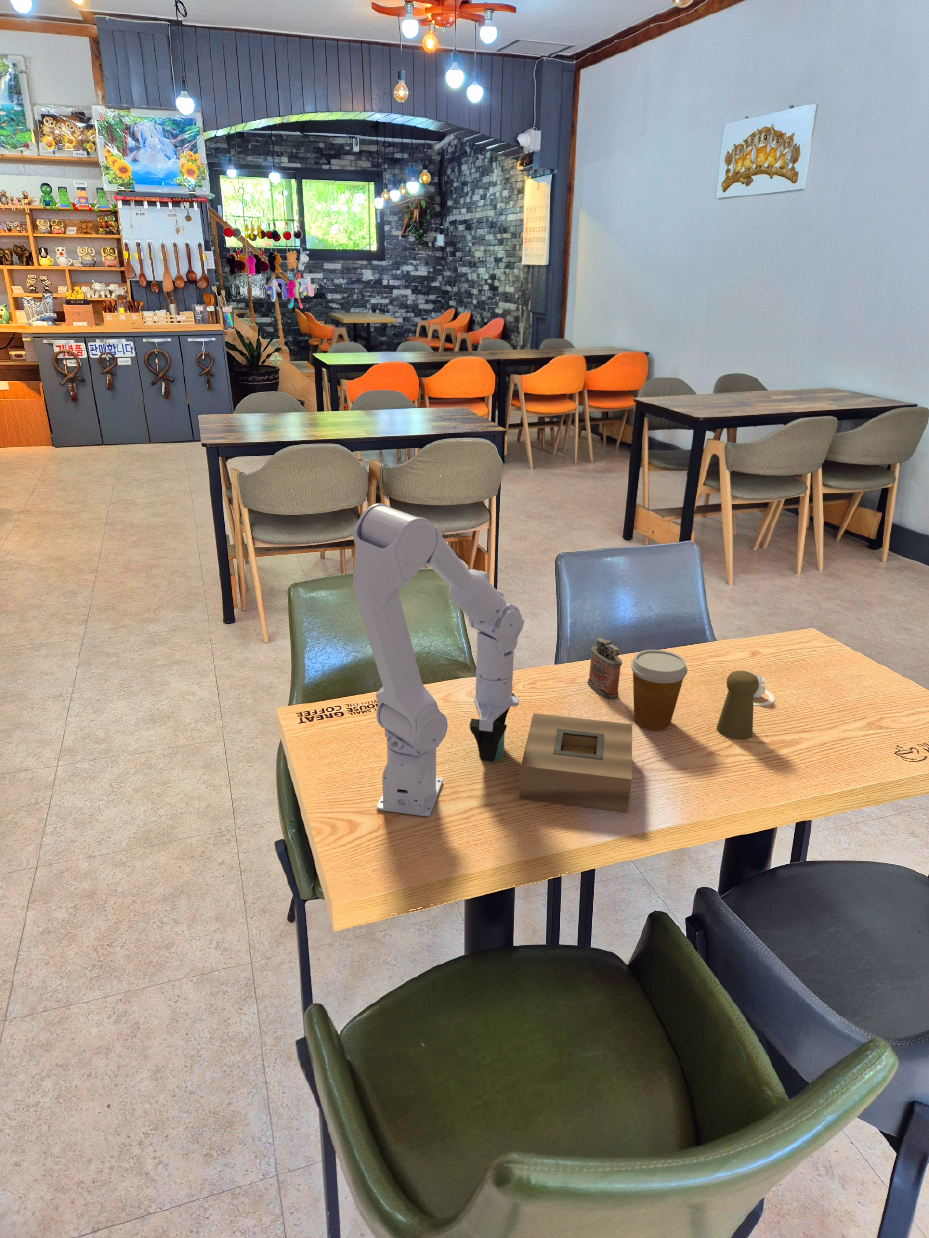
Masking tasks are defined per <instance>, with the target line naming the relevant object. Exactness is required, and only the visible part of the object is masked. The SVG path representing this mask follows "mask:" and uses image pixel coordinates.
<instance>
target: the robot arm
mask: <svg viewBox="0 0 929 1238" xmlns="http://www.w3.org/2000/svg"><path fill="white" fill-rule="evenodd" d="M351 534H352V539H353V542H354V545H355V548H356V549H355V557H354V567H353V568H354V569H353V578H352V586H353V587H352V588H353V591H354V595H355V598H356V601H357V605H358V607H359V612H360V615H361V619H362V621H363V625H364V628H365V631H366V632H365V633H366V635H367V639H368V641H369V645H370V648H371V649H370V650H371V651H372V655H373V659H374V662H375V665H376V667H377V672H378V674H379V675H378V676H379V678H380V681H381V684H382V687H380V689H379V690H378V691H377V692H376V693H375V697H376V703H377V708H376V713H375V715H376V721H377V723H378V725H379V726H380V727H382V728H383V729H384V737H385V738H386V757H387V758H386V759H387V761H386V765H385V767H384V770H383V772H382V794H381V795H380V798H379V800H378V802H377V804H376V809H377V810H378V811H384V812H392V813H398V814H400V813H401V814H407V815H414V816H421V817H430V816H431V813H432V811H433V809H434V806H435V803H436V802H437V801H436V800H437V798H438V795H439V793H440V790H441V787H442V784H443V782H444V779H443V778H442V777H438V776H437V748H438V747H440V744H441V743H442V742H443V741H444V739H445V737H446V735H447V731H448V725H449V724H448V723H449V722H448V719H447V717H446V715H445V714H444V713H443V712H441V710H440V709H439V707H438V704H437V703H438V702H437V701H436V699H435V698H434V697H433V695H432V694H431V693H430V691H428V689H427V688H426V687H425V686H424V684H423V681H422V678H421V673H420V671H419V670H420V669H419V666H418V662H417V658H416V654H415V650H414V647H413V644H412V639H411V636H410V632H409V629H408V625H407V620H406V617H405V614H404V609H403V606H402V603H401V598H400V595H399V590H400V589H402V588H405V587H406V586H407V585H408V583H410V581H411V580H412V579H413V578H414V577H415V575H417V573H418V572H419V571H420V570H421V569H422V567H423V566H424V565H425V564H426V565H427V566H428V567H430V569H432V570H433V572H435V573H436V574H437V575H438V576H439V577H440V578H441V579H443V580H444V582H445V583H447V584H448V586H449V592H448V593H449V596H450V599H451V601H453V603H455V605H457V606H458V608H460V609H461V611H462V612H463V613H464V614H465V615H466V616H467V617H468V622H469V626H470V628H472V629H474V630H476V631H477V633H476V665H475V666H476V667H475V668H476V670H475V693H474V694H475V695H474V696H473V702H474V706H475V708H476V712H477V714H478V717H479V718H471V719H470V722H469V730H470V732H471V733H472V735H473V736H474V739H475V742H476V745H477V749H478V750H477V751H478V755H479V754H480V757H479V758H480V761H482V762H487V761H488V763H495V762H494V760H495V757H496V753H497V749H498V744H499V741H500V739H501V737H502V735H503V734H504V732H505V733H506V731H507V727H508V724H506V720H507V717H508V716H507V715H508V713H509V711H510V708H511V707H518V706H519V704H520V697H518V696H515V693H513V679H514V678H513V677H514V676H513V675H514V657H515V656H514V655H515V654H514V653H515V650H516V649H517V646H518V638H519V636H520V635H521V632H522V630H523V628H524V623H525V619H524V618H523V617H522V614H521V611H520V609H519V608H518V607H517V605H513V604H512V603H509V602H507V601H506V599H505V598H504V597H505V594H504V593H503V592H502V591H501V590H498V589H497V588H495V587H494V585H493V584H492V583H491V581H490V579H491V576H490V575H489V574H488V573H487V572H486V571H484V570H477V569H474V568H472V569H471V568H470V569H468V568H467V567H466V565H465V564H464V563H463V561H461V559H460V558H459V556H458V555H457V554H456V552H455V551H454V550H453V549H452V547H451V546H450V545H449V544H448V543H447V541H446V540H445V538H444V537H443V532H442V531H441V530H439V529H438V528H436V527H435V526H434V524H433V523H432V521H430V520H429V519H427V518H425V517H423V516H415V515H412V514H409V513H406V512H404V511H401V510H398V509H396V508H392V507H391V506H389V505H387V504H384V503H374V504H372V505H370V506H369V507H367V508H366V509H365V510H364V511H363V512H362V513H361V515H360V517H359V518H358V521H357V522H356V524H355V526H354V528H353V530H352V531H351ZM496 723H499V724H496Z"/></svg>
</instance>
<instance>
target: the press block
mask: <svg viewBox="0 0 929 1238" xmlns="http://www.w3.org/2000/svg"><path fill="white" fill-rule="evenodd" d="M531 717H532V718H531V721H530V726H529V729H528V734H527V739H526V743H525V747H524V751H523V756H522V760H521V764H520V778H519V794H518V795H519V797H518V799H519V800H525V801H526V800H527V801H534V802H542V803H548V804H549V803H551V804H558V805H567V806H572V807H580V808H582V807H583V808H588V809H593V810H594V809H595V810H604V811H611V812H617V813H618V812H620V813H626V814H627V813H629V807H630V797H631V787H632V781H633V780H632V779H633V776H632V774H633V724H632V723H626V722H625V723H624V722H617V721H608V720H601V719H600V720H597V719H588V718H581V717H580V718H579V717H574V716H573V717H571V716H563V715H553V714H545V713H537V712H533V713H532V716H531ZM564 745H566V746H575V747H583V748H592V749H595V750H594V754H585V753H577V752H569V751H563V748H564Z"/></svg>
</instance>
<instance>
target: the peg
mask: <svg viewBox="0 0 929 1238" xmlns="http://www.w3.org/2000/svg"><path fill="white" fill-rule="evenodd" d="M496 724H499V723H496ZM505 733H506V731H505V732H504V734H503V735H502V737H501V739H500V741H499V744H498V749H497V753H496V757H495V760H494V762H493V763H495V762H499V761H501V760H502V759H503V758H504V757H505V756H504V754H505V753H504V752H505ZM478 757H479V758H480V754H479V753H478ZM486 762H488V761H486ZM488 763H489V762H488Z"/></svg>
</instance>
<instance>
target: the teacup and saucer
mask: <svg viewBox="0 0 929 1238" xmlns="http://www.w3.org/2000/svg"><path fill="white" fill-rule="evenodd" d="M754 675H755V676H756V677H757V678H758V681H759V688H758V690H757V692H756V693H755V694H754V699H758V698H760V697H762V696H763V695H764V694H765V695H767V697H768V700H767V701H765V702H760V703H757V702H753V707H754V706H756V707H765V706H769V705H772V704H773V703H774V702H775V700H776V697H775V695H774V694H773V693H772V692H771V691H769V690H767V689H766V686H765V681H766V678H764V677H763V676H761V675H758V674H754Z"/></svg>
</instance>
